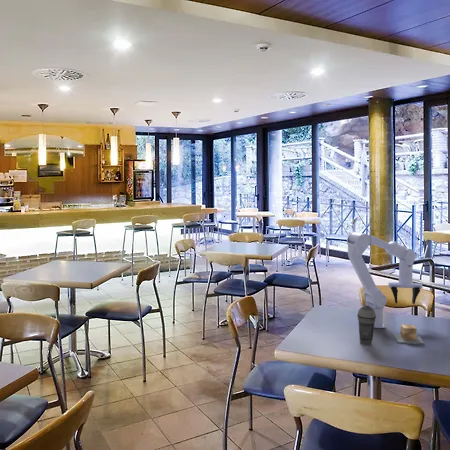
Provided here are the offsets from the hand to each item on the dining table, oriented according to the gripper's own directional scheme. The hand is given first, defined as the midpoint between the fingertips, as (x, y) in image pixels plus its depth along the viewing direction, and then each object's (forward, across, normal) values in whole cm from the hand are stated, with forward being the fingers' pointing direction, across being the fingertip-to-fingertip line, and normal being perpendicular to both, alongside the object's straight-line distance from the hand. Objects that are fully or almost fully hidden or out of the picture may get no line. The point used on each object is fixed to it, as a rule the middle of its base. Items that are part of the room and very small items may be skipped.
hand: (404, 303), depth 216 cm
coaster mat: (+9, -3, -24) cm, 26 cm away
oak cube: (+9, -3, -24) cm, 26 cm away
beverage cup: (+10, -21, -32) cm, 39 cm away
